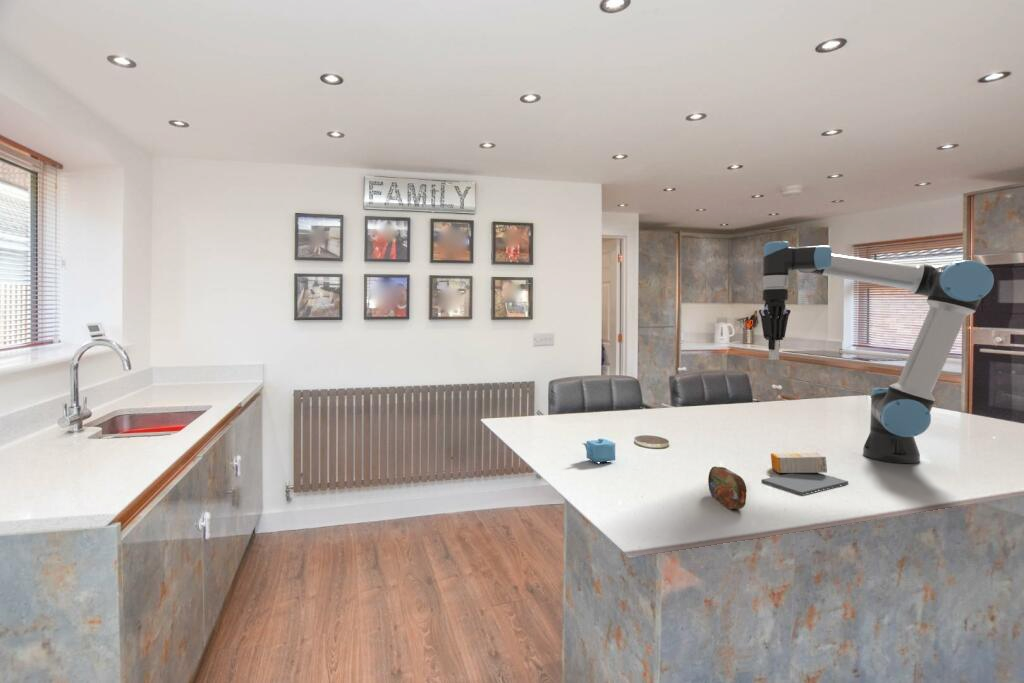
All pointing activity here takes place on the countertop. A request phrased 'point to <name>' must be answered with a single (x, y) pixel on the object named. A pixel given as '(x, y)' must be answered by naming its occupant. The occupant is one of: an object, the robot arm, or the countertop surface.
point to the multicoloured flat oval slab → (727, 487)
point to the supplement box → (799, 462)
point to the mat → (804, 482)
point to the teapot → (600, 450)
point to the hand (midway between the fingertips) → (773, 359)
